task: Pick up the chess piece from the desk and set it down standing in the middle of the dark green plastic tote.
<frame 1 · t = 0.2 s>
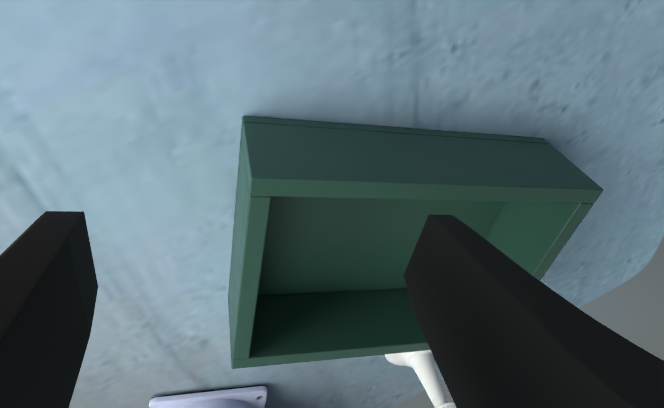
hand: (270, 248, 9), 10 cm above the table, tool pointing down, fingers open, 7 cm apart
chess piece: (411, 336, 32), on the table
tote: (378, 221, 24), on the table
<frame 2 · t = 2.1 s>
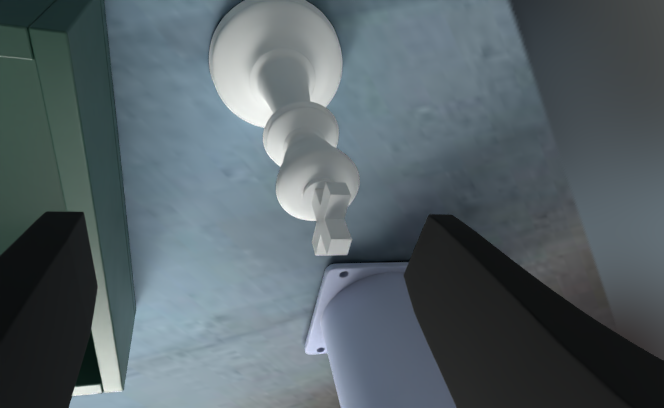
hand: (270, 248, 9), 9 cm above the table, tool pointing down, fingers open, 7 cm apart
chess piece: (276, 61, 16), on the table
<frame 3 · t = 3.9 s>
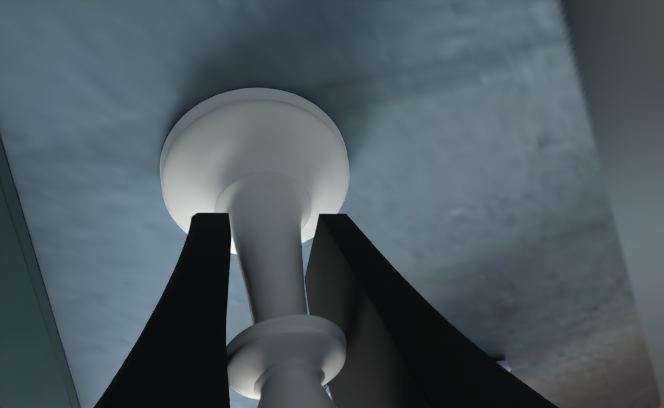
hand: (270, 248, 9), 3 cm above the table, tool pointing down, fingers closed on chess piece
chess piece: (257, 169, 12), on the table, touching gripper
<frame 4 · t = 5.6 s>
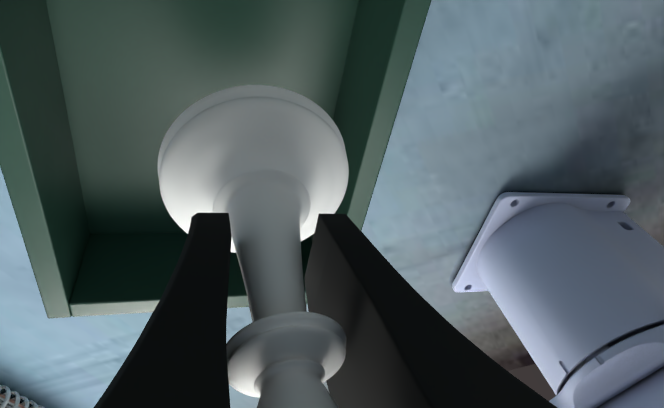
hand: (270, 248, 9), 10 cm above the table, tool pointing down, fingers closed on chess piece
chess piece: (255, 167, 12), point 7 cm above the table, touching gripper
tote: (211, 87, 17), on the table
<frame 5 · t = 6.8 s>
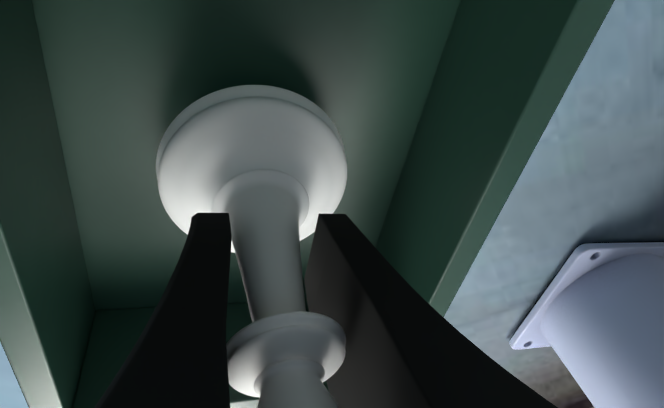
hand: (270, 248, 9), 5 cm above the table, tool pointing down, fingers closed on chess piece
chess piece: (254, 167, 12), point 2 cm above the table, touching gripper
tote: (252, 136, 13), on the table
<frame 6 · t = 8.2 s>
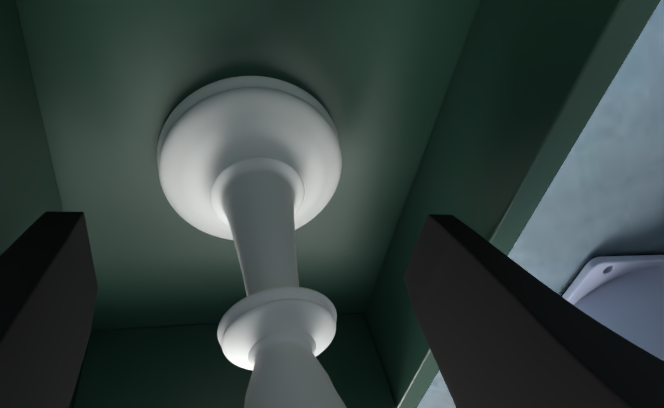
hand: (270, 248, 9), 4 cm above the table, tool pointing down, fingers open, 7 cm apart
chess piece: (252, 157, 12), resting on tote
tote: (254, 151, 12), on the table
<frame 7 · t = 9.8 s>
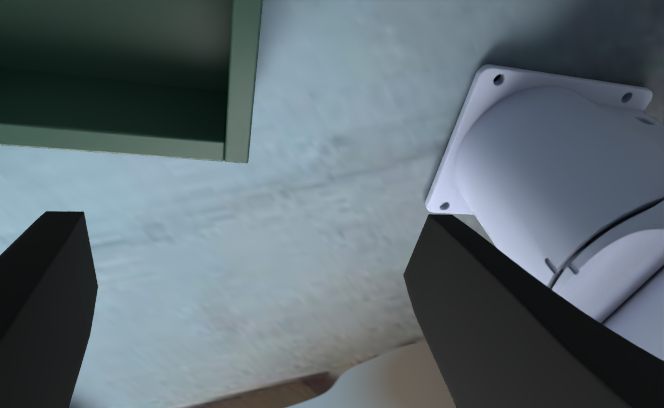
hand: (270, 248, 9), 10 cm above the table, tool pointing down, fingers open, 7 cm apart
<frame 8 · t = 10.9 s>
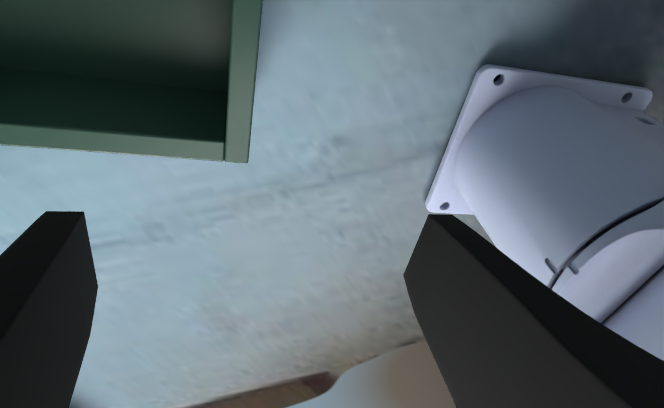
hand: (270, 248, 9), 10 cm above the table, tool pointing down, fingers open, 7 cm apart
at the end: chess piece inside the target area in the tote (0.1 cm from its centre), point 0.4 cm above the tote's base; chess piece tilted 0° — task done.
